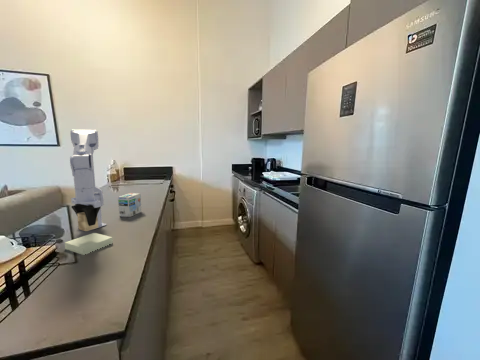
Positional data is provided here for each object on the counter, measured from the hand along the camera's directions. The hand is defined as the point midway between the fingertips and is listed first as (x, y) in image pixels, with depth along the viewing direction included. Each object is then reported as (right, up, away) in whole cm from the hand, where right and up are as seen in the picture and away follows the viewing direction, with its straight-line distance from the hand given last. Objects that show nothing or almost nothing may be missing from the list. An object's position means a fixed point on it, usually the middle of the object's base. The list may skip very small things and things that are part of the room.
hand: (87, 224), depth 89 cm
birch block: (0, -2, 0) cm, 2 cm away
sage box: (0, -9, +1) cm, 9 cm away
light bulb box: (-3, -3, +43) cm, 43 cm away
